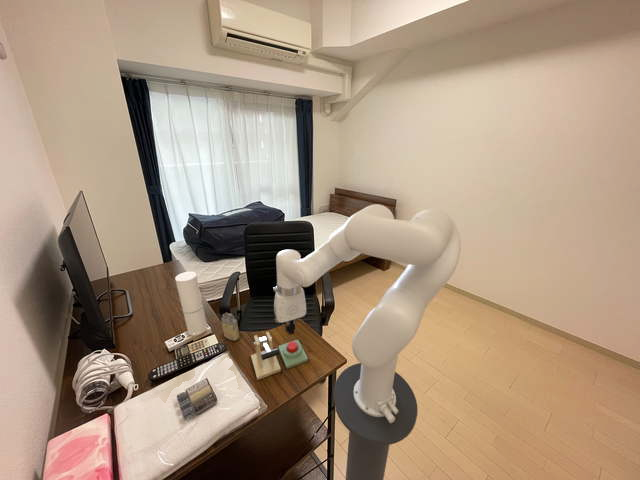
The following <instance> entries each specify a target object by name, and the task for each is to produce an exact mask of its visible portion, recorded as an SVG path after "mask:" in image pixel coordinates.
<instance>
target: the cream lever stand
mask: <svg viewBox="0 0 640 480" xmlns="http://www.w3.org/2000/svg"><path fill="white" fill-rule="evenodd" d="M265 337H266V338H267V342H268V347H269V349H270V350H274V346H273V337H272V336H271V333H270V331H266V332H265ZM253 340H254V342H253V346H254V348H255V353H254V354H250V359H251V362H252V365H253V366H252V367H253V369H254V374H255V376H256V380H257V381H258V380H259V381H260V380H262V379H264V378H267V377H269V376H272V375H275V374H277V373H279V372H281V371H282V368H281V365H280V363H279V360H278V358H277V356H274V357H271V358H268V359H265V360H262V358H261V354H263V353H266V351H265V350H263V351H261V349H262V348H261V346H260V342H259V337H258V335H257V334H255V335H253Z"/></svg>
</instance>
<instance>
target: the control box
mask: <svg viewBox="0 0 640 480" xmlns="http://www.w3.org/2000/svg"><path fill="white" fill-rule="evenodd" d="M291 342H296V343H297V351H296V352H294V353H290V352H288V350H287V345H288V343H289V342H286V343H283V344H280V345H277V349H278V351H279V355H280V356H281V359H282V361H283V364H284V366H285V369H290V368H293V367H296V366H298V365H301V364H303V363H306V362H308V361H309V358H308V355H307V354H306V352H305V350H304V348H303V346H302V344H301V342H300V341H299V339H295V340H292V341H291Z"/></svg>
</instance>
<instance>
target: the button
mask: <svg viewBox="0 0 640 480" xmlns="http://www.w3.org/2000/svg"><path fill="white" fill-rule="evenodd" d="M287 343H288V345H287V350H288V352H290V353H294V352H296V351H297V343H296V342H292V341H289V342H287Z"/></svg>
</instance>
